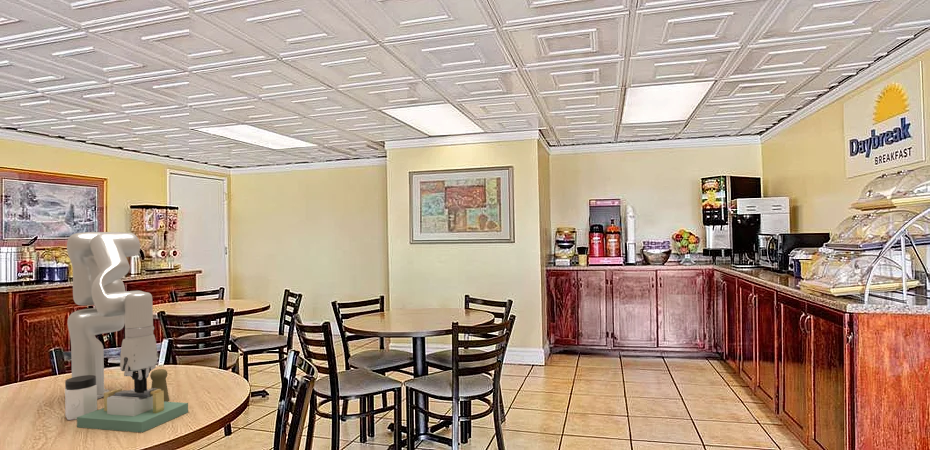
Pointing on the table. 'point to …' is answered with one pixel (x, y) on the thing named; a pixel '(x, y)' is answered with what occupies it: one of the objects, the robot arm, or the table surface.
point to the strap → (135, 393)
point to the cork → (160, 382)
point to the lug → (158, 400)
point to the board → (132, 420)
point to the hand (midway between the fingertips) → (140, 391)
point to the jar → (80, 396)
